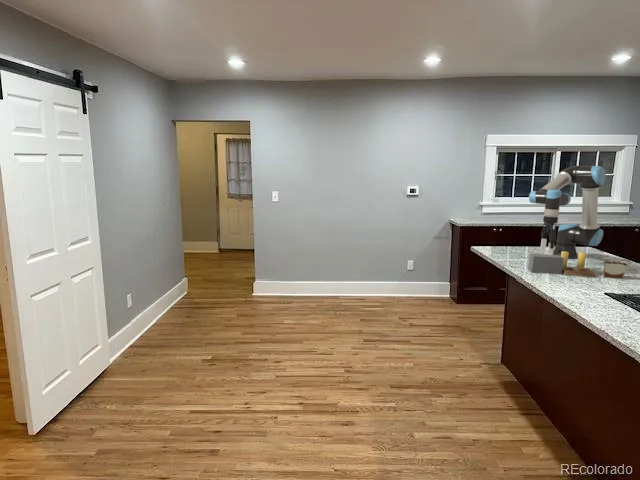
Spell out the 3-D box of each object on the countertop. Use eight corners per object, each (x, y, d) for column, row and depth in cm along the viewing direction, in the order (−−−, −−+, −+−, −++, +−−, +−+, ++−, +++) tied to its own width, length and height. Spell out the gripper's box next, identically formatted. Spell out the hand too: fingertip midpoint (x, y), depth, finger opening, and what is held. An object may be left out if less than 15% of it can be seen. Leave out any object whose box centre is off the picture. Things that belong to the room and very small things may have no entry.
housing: (527, 269, 262) (529, 253, 260) (556, 270, 259) (558, 254, 257) (531, 272, 254) (533, 256, 252) (561, 274, 251) (563, 257, 249)
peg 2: (575, 267, 269) (577, 252, 267) (582, 267, 268) (584, 252, 266) (578, 269, 265) (580, 253, 263) (585, 269, 264) (587, 253, 262)
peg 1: (558, 266, 270) (560, 251, 269) (565, 266, 270) (567, 251, 268) (560, 268, 267) (562, 252, 265) (567, 268, 266) (569, 252, 264)
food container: (622, 276, 248) (624, 260, 246) (625, 279, 242) (628, 262, 240) (597, 274, 252) (600, 258, 250) (600, 277, 246) (603, 260, 244)
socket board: (557, 270, 261) (558, 266, 260) (586, 272, 258) (586, 268, 257) (565, 275, 249) (565, 271, 249) (594, 277, 246) (595, 273, 246)
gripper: (537, 213, 263) (533, 247, 267) (551, 218, 239) (546, 255, 243) (550, 214, 262) (546, 247, 265) (565, 219, 238) (560, 256, 241)
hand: (546, 251), depth 254 cm, fingers open, 13 cm apart
